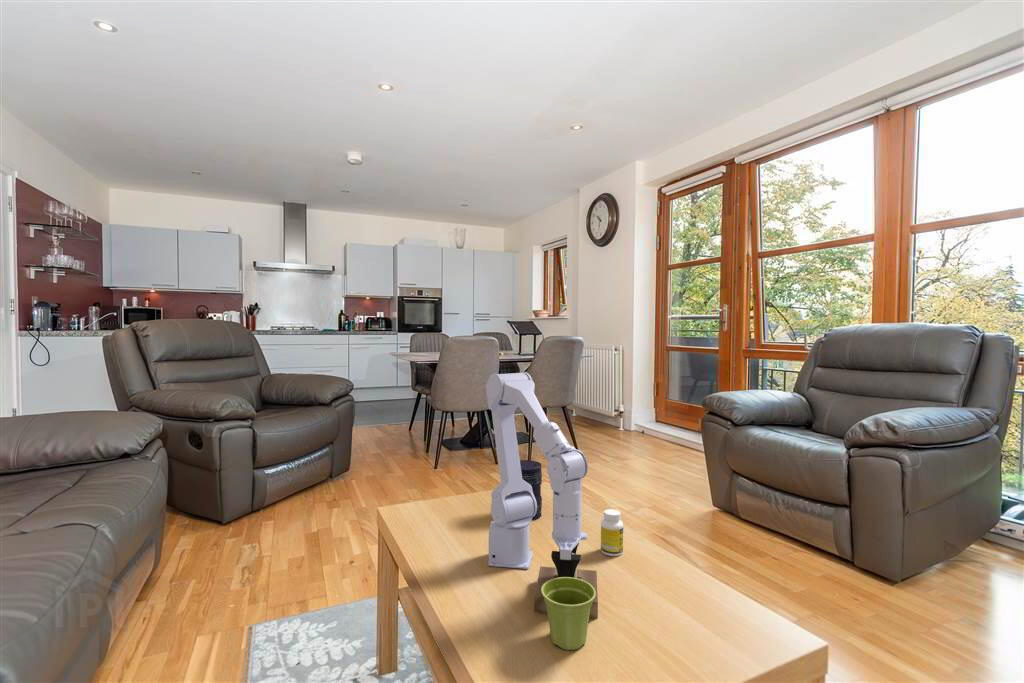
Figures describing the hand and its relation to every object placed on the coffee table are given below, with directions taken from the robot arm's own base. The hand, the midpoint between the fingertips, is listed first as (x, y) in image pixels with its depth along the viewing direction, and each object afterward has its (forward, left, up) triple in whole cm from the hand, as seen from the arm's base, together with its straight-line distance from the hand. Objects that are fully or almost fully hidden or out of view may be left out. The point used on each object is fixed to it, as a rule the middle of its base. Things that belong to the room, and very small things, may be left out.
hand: (567, 578), depth 96 cm
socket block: (0, 0, -4) cm, 4 cm away
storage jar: (-14, +42, -4) cm, 44 cm away
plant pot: (+1, -13, -4) cm, 14 cm away
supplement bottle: (+10, +22, -4) cm, 25 cm away
